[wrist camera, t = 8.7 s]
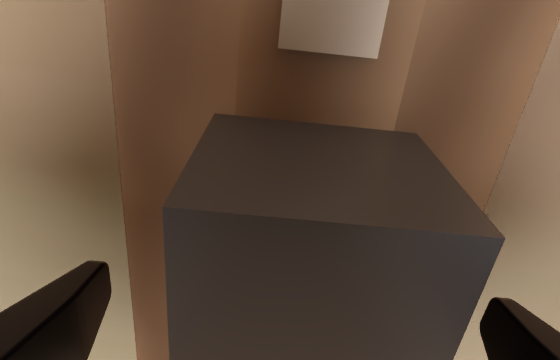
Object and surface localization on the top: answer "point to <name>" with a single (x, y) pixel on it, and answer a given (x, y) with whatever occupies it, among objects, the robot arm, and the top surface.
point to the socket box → (309, 92)
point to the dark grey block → (320, 246)
